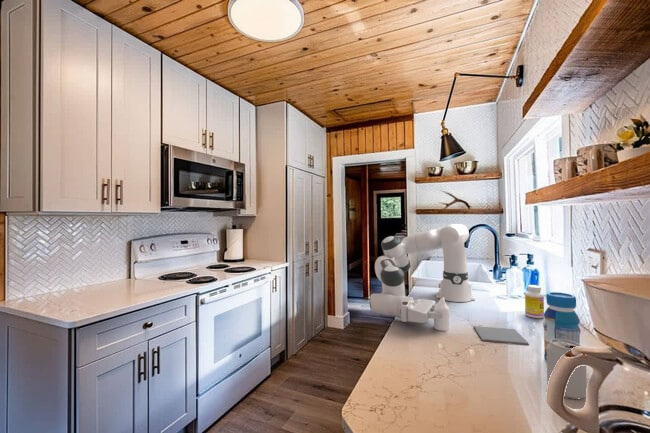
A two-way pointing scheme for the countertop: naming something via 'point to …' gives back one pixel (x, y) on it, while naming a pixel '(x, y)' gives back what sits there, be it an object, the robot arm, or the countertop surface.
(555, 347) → the can
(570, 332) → the beverage bottle
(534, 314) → the supplement bottle
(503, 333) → the mat
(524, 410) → the countertop surface
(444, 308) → the white piece
